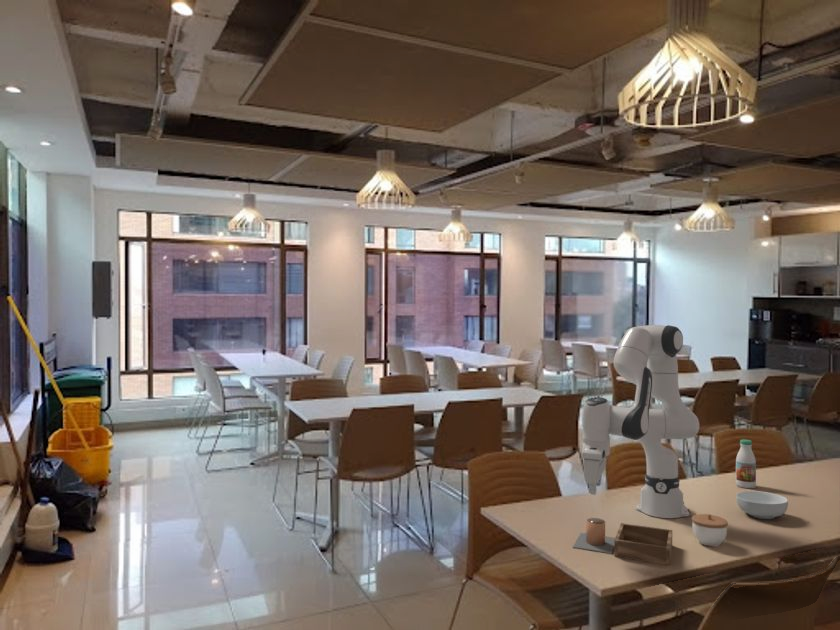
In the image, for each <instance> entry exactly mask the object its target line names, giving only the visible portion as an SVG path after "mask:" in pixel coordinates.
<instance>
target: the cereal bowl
mask: <svg viewBox="0 0 840 630" xmlns="http://www.w3.org/2000/svg"><path fill="white" fill-rule="evenodd" d="M735 496H736V503H737V505H738V507H739V508H740V510H741V511H742V512H744V513H747V514H749V515H750V516H751V517H753V518H757V519H761V520H772V519H775V517H777V518H778V517H781V516H782V515H784V514H786V513H787V510H788V508H789V499H787V498H786V497H784V496H783V495H780V494H776V493H772V492H766V491H758V490H757V491H756V490H746V491H740V492H737V493H736V495H735Z"/></svg>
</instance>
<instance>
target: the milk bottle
mask: <svg viewBox="0 0 840 630" xmlns="http://www.w3.org/2000/svg"><path fill="white" fill-rule="evenodd" d="M739 444H740V448H739V450H738V452H737V455H736V458H735V485H736V486H737V487H739V488H744V489H754V488H756V487H757V486H756V485H757V463H756V457H755V453H754V452H753V449H752V446H753V441H752V440H751V439H750V440H749V439H740V441H739Z"/></svg>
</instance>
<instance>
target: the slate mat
mask: <svg viewBox="0 0 840 630" xmlns="http://www.w3.org/2000/svg"><path fill="white" fill-rule="evenodd" d="M614 540H615V537H613V536H611V537H610V536H606V535H605V544H604V545H602V546H595V545H590V544H588V543H587V542H586V532H580V534H579V535H578V536H577V539H576V541H575V543H574V544H573V546H572V548H573V549H577V548H578V549H579V550H585V551H591V552H592V551H593V552H598V553H605V554H610V555H612V554H613V553H614V552H613V551H614Z"/></svg>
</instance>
